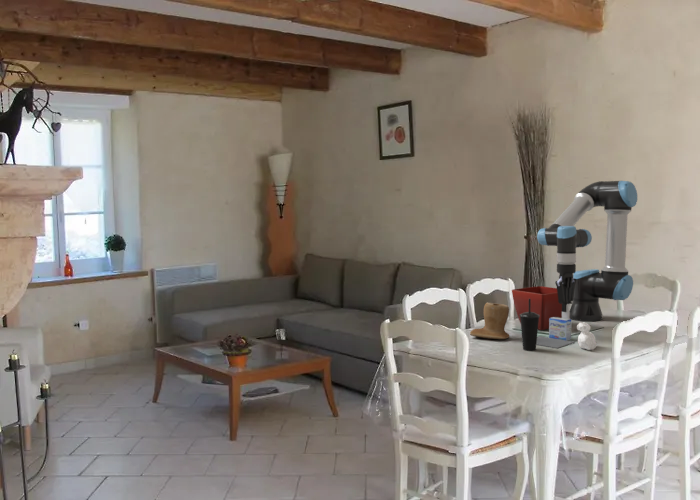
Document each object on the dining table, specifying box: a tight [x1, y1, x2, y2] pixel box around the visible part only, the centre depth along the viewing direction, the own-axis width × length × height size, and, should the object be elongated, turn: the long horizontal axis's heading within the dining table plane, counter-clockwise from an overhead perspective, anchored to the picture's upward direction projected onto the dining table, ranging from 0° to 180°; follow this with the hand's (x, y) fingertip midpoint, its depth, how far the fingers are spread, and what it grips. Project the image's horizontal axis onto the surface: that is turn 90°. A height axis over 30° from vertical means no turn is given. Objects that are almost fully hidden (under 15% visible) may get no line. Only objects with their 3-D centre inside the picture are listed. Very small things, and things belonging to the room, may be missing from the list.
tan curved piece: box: [469, 302, 510, 340], centre depth 290 cm, size 15×12×15 cm
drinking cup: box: [519, 299, 540, 352], centre depth 268 cm, size 8×8×20 cm
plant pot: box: [511, 285, 562, 331], centre depth 310 cm, size 19×19×17 cm
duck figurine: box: [576, 321, 598, 351], centre depth 269 cm, size 12×8×11 cm
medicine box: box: [548, 317, 572, 341], centre depth 286 cm, size 8×4×9 cm, turn 45°
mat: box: [536, 335, 576, 349], centre depth 280 cm, size 13×16×1 cm
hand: (565, 319), depth 288 cm, fingers closed
